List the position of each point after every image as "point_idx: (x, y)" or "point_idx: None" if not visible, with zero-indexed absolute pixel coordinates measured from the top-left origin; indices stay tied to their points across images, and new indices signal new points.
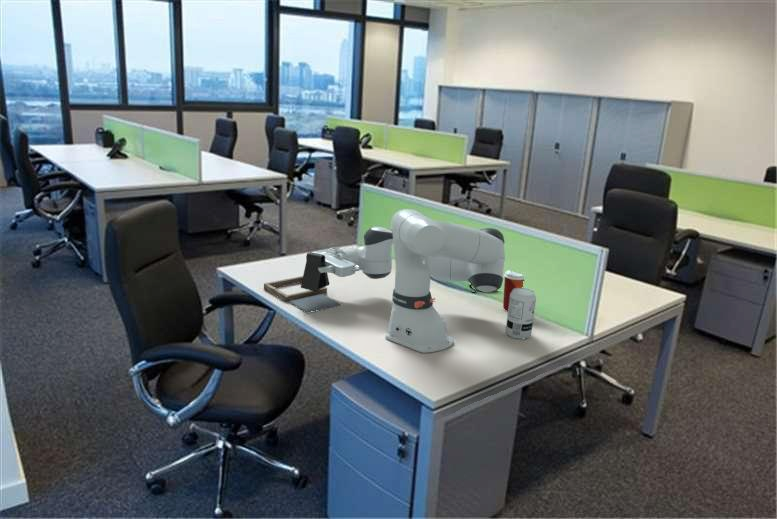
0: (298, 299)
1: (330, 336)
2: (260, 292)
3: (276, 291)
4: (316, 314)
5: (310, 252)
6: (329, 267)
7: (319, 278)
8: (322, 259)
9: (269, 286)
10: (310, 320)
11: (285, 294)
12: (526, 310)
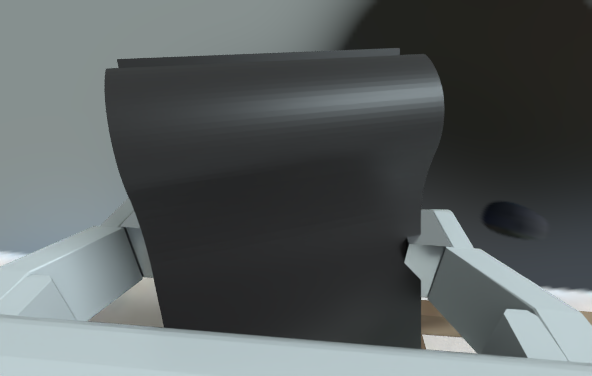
0: None
1: (4, 257)
2: (557, 295)
3: None
4: None
5: (406, 60)
6: (20, 261)
7: None
8: (186, 183)
9: (587, 314)
10: (150, 282)
11: (430, 313)
12: None
